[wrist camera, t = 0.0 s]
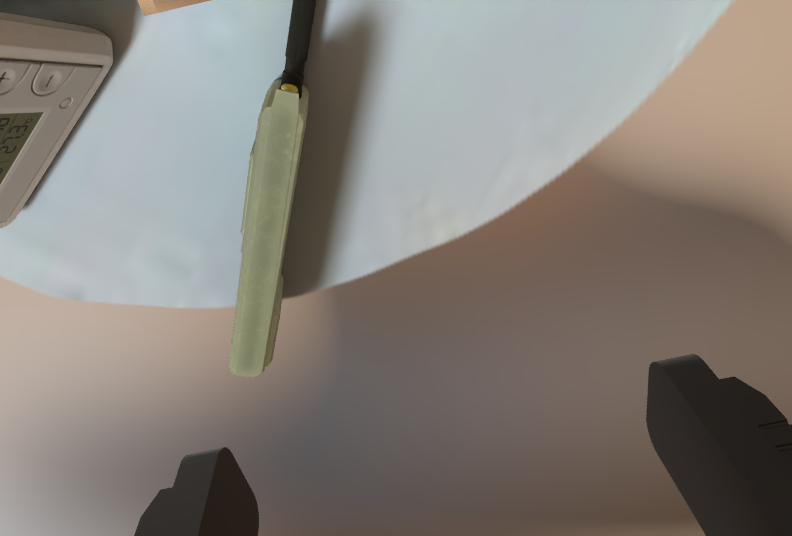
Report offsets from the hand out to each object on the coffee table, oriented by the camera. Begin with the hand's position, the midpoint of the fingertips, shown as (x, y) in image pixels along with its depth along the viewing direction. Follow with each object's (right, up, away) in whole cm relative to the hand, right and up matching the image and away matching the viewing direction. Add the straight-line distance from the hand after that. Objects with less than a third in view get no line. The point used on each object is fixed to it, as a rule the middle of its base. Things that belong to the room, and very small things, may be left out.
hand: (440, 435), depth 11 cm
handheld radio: (-9, +10, +28) cm, 31 cm away
